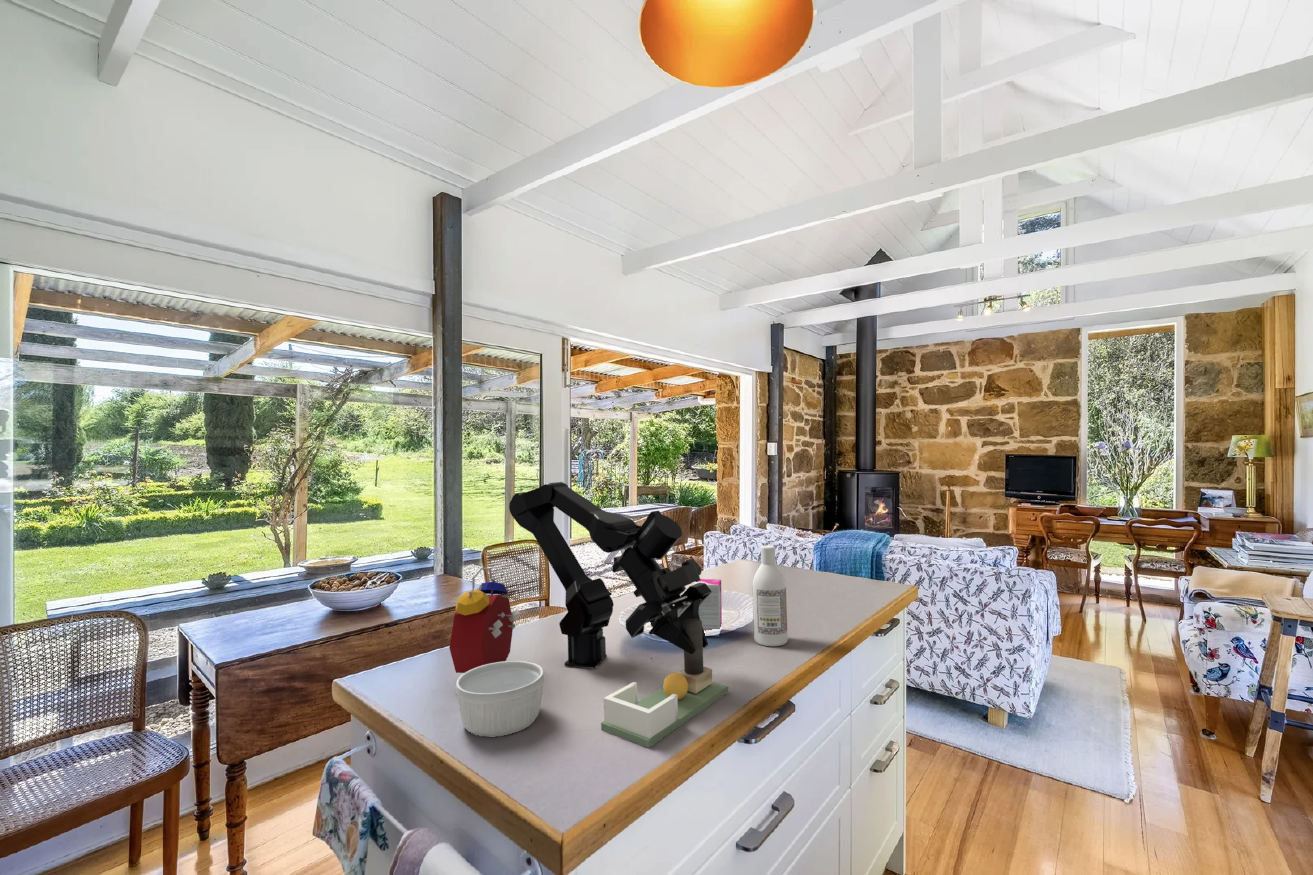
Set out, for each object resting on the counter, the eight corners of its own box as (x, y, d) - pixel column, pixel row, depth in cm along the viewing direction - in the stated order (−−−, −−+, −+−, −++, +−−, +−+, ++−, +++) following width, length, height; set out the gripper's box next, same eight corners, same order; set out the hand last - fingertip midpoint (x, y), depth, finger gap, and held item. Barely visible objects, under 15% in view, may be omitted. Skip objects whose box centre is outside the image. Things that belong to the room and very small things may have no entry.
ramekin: (475, 702, 93) (474, 660, 94) (553, 700, 93) (552, 658, 93) (442, 743, 80) (441, 694, 80) (533, 742, 80) (531, 693, 80)
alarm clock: (485, 658, 113) (483, 559, 114) (526, 659, 112) (523, 559, 112) (449, 689, 98) (446, 576, 99) (495, 691, 97) (493, 576, 98)
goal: (603, 721, 83) (603, 697, 83) (634, 703, 89) (633, 681, 89) (650, 738, 78) (649, 713, 78) (679, 718, 83) (678, 695, 83)
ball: (660, 702, 89) (659, 677, 89) (667, 692, 92) (666, 667, 93) (685, 705, 87) (684, 679, 88) (691, 694, 91) (690, 669, 91)
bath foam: (793, 645, 115) (790, 548, 116) (762, 648, 114) (759, 550, 114) (779, 634, 122) (776, 543, 123) (749, 637, 121) (746, 545, 121)
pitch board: (601, 729, 83) (601, 722, 83) (684, 679, 100) (684, 674, 100) (648, 747, 77) (648, 740, 77) (728, 691, 94) (728, 685, 94)
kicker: (676, 687, 93) (674, 623, 94) (693, 677, 97) (691, 615, 98) (696, 693, 91) (693, 627, 91) (712, 682, 95) (710, 619, 95)
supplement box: (720, 637, 121) (719, 584, 122) (693, 636, 123) (692, 584, 123) (723, 629, 127) (721, 578, 127) (697, 628, 128) (695, 578, 129)
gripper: (636, 555, 90) (696, 636, 83) (701, 538, 104) (756, 606, 97) (602, 597, 94) (655, 678, 87) (668, 576, 109) (718, 643, 102)
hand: (700, 649), depth 93 cm, fingers open, 3 cm apart
